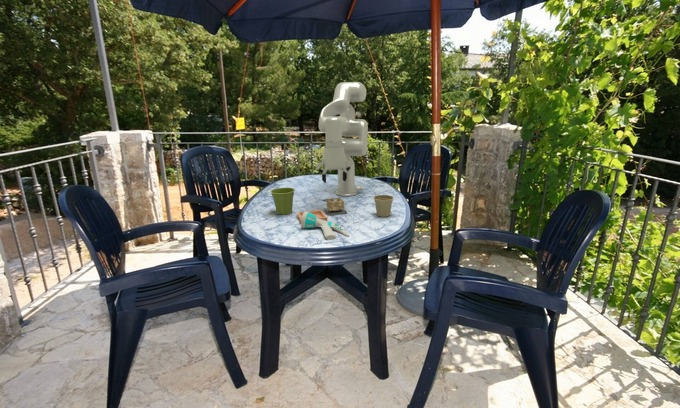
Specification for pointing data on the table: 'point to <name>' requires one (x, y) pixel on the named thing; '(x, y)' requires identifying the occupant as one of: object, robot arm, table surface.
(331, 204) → the wooden ring
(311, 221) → the garden hose nozzle
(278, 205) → the plant pot
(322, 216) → the terracotta tray
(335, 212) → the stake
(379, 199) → the flower pot
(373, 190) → the table surface
